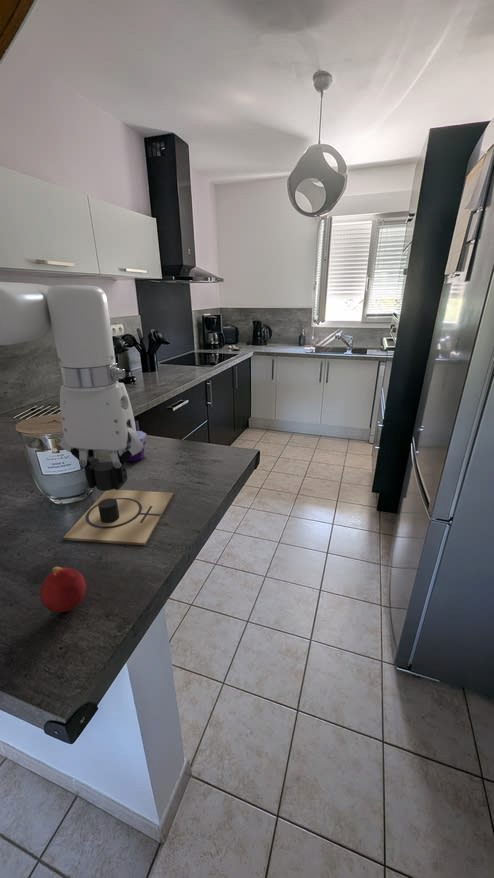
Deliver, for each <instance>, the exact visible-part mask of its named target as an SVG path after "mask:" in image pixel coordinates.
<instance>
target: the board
mask: <svg viewBox="0 0 494 878" xmlns="http://www.w3.org/2000/svg"><path fill="white" fill-rule="evenodd" d="M173 496H174V492H167V491H166V492H165V491H150V490H149V491H147V490H129V489H128V490H127V489H119V490H115V489H112V490H108V491H103V493H102V494H101V495H100V496H99V498H97V499H96V501H95V502H94V503H93V504H92V505H91V506H90V507H89V508H88V509H87V510H86V512H84V514H83V515H81V517H80V518H79V519H78V520H77V521H76V523H74V525H73V526H72V527H71V528H70V529H69V530H68V531H67V532H66V533H65V534H64V536H63V537H62V539H63V541H73V542H74V541H75V542H89V543H104V544H117V545H131V546H146V545H147V542H148V540H149V539H150V537H151V535H152V534H153V532H154V530H155V528H156V527H157V525H158V523H159V522H160V519H161V518H162V516H163V514H164V512H165V511H166V509H167V507H168V505H169V503H170V502H171V500H172V498H173ZM108 498H113V499H116V500H117V504H118V510H119V518H118V519H117V520H116V521H114V522H111V523H103V522H102V521H101V518H100V513H99V507H98V504H99V502H100V501H102V500H104V499H108Z"/></svg>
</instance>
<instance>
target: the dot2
mask: <svg viewBox="0 0 494 878" xmlns="http://www.w3.org/2000/svg"><path fill="white" fill-rule="evenodd" d="M113 466H114V465H113V462H112V461H102V462H100V463H99V464H97V465H95V466H94V468H93V470H94V476H95V481H96V486H95V487H96V489H97V490H98V491H102V492H105V491H108V490H115V489H114V487H113V480H112V474H111V468H112V467H113Z"/></svg>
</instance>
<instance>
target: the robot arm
mask: <svg viewBox="0 0 494 878" xmlns="http://www.w3.org/2000/svg"><path fill="white" fill-rule="evenodd" d="M109 309H110V308H109V303H108V297H107V295H106V293H105V291H104V290H103V289H102V288H101V287H99V286H96V285H89V284H87V285H86V284H58V285H57V284H56V285H46V284H40V283H28V282H27V283H26V282H15V281H14V282H10V281H0V346H11V345H16V344H21V343H27V342H31V341H38V340H45V339H50V338H54V343H55V344H54V345H55V348H56V355H57V360H58V365H59V369H60V374H61V380H62V385H61V386H60V388H59V411H60V413H59V414H60V420H61V421H60V422H61V428H62V433H63V435H62V437H61V440H60V442H59V447H60V448H62V449H63V450H65V451H67V452H69V453H71V455H72V456H73V457H75V458H76V459H77V460H78V461H79V465H80V466H82V467H83V468H84V473H85V478H86V481H87V485H88V488H89V489H94V488H95V487H96V481H95V476H94V470H93V468H94V466H95V465H97V464H99V463H101V461H100V460H99V458H96V451H108V453H109V455H110V459H111V462H113V465H114V466H113V467H112V468H111V474H112V480H113V487H114V489H113V490H121V488H122V487H123V486H124V485H125V483H126V482H127V481H128V473H127V467H126V466H127V465H126V463H127V462H126V461H127V460H128V459H129V458H130V457H131V456H134V455H135V454H137V453H139V452H140V451H141V450H142V449H143V448H144V449H145V445H143V444H142V442H141V441H140V440H139V438H138V437H137V435H136V431H137V428H136V426H135V421H136V420H135V421H134V419H135V417H134V412H133V407H132V404H131V400H130V396H129V393H128V391H127V388H126V385H125V383H124V382H119V381H120V379H125V378H126V370H125V369H123V368H119V367H118V363H116V354H115V347H114V341H113V333H112V325H111V319H110V311H109ZM127 442H128V443H129V444H130V446H131V447H130V448H128V449H127V450H125V448H126V446H127Z"/></svg>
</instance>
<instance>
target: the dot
mask: <svg viewBox="0 0 494 878" xmlns="http://www.w3.org/2000/svg"><path fill="white" fill-rule="evenodd" d="M98 507H99V513H100V518H101V521H102V522H103V523H111V522H114V521H116V520H117V519H118V518H119V510H118V504H117V500H116V499H113V498H108V499H104V500H102V501H100V502H99V504H98Z"/></svg>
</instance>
